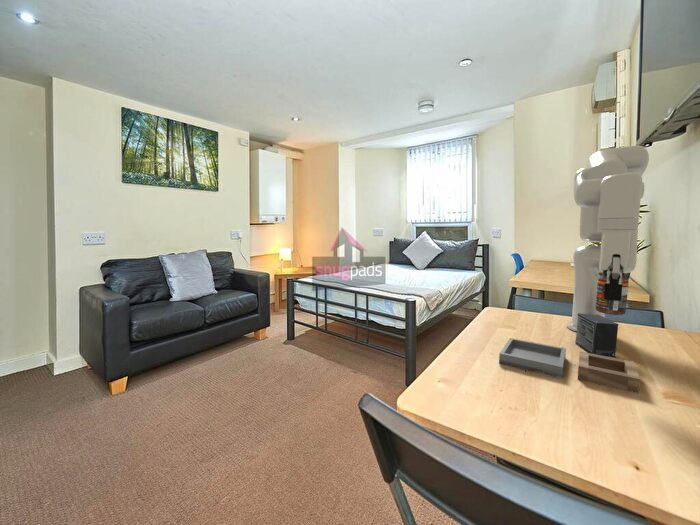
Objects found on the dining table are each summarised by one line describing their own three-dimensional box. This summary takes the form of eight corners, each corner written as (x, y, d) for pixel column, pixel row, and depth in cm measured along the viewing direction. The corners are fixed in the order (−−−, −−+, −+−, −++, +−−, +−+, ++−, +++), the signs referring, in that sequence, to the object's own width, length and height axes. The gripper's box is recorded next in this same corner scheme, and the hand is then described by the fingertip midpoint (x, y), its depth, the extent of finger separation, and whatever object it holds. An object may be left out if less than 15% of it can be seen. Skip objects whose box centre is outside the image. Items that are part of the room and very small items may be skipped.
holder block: (578, 363, 88) (579, 351, 87) (633, 374, 81) (634, 361, 80) (577, 379, 79) (578, 366, 78) (638, 393, 72) (639, 379, 71)
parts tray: (509, 346, 100) (510, 337, 100) (565, 358, 91) (565, 348, 91) (499, 363, 88) (499, 353, 88) (561, 378, 79) (562, 367, 79)
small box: (617, 357, 91) (620, 323, 89) (592, 356, 92) (595, 322, 91) (596, 344, 101) (599, 313, 100) (574, 343, 102) (576, 312, 101)
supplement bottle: (589, 309, 81) (592, 267, 79) (609, 308, 81) (613, 266, 80) (610, 316, 75) (614, 270, 73) (632, 315, 75) (636, 269, 74)
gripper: (596, 225, 84) (591, 289, 86) (598, 226, 71) (592, 302, 73) (633, 225, 80) (627, 292, 82) (643, 226, 66) (635, 307, 68)
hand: (611, 296), depth 77 cm, fingers closed on supplement bottle, 6 cm apart
